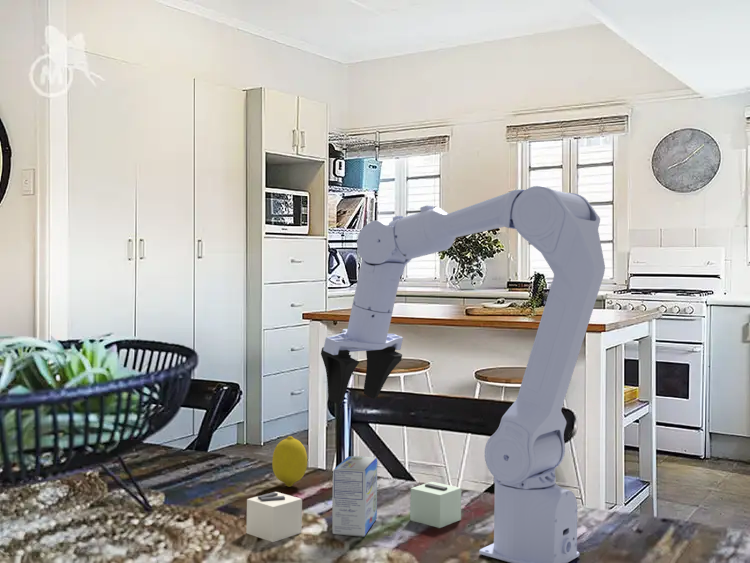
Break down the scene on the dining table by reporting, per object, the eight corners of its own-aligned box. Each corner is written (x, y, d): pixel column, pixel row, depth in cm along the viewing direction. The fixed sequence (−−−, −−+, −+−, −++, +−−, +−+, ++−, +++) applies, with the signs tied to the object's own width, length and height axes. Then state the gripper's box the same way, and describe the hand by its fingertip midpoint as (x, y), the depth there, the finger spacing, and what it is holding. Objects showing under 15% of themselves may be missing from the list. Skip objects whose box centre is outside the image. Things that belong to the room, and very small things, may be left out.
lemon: (267, 484, 126) (268, 434, 126) (300, 480, 128) (300, 431, 128) (278, 492, 121) (278, 440, 121) (311, 489, 123) (312, 438, 123)
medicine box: (364, 538, 101) (366, 470, 101) (331, 535, 101) (332, 467, 101) (377, 519, 108) (378, 456, 108) (345, 517, 109) (346, 454, 109)
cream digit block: (301, 533, 102) (302, 496, 102) (272, 542, 98) (273, 504, 98) (275, 525, 105) (275, 489, 105) (246, 534, 102) (247, 496, 102)
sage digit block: (460, 520, 109) (461, 485, 109) (439, 528, 105) (440, 492, 105) (431, 513, 112) (432, 479, 112) (410, 521, 108) (410, 486, 108)
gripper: (384, 299, 118) (365, 384, 120) (316, 299, 107) (297, 393, 109) (420, 312, 114) (400, 401, 116) (353, 314, 103) (333, 412, 105)
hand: (352, 398), depth 112 cm, fingers open, 7 cm apart
